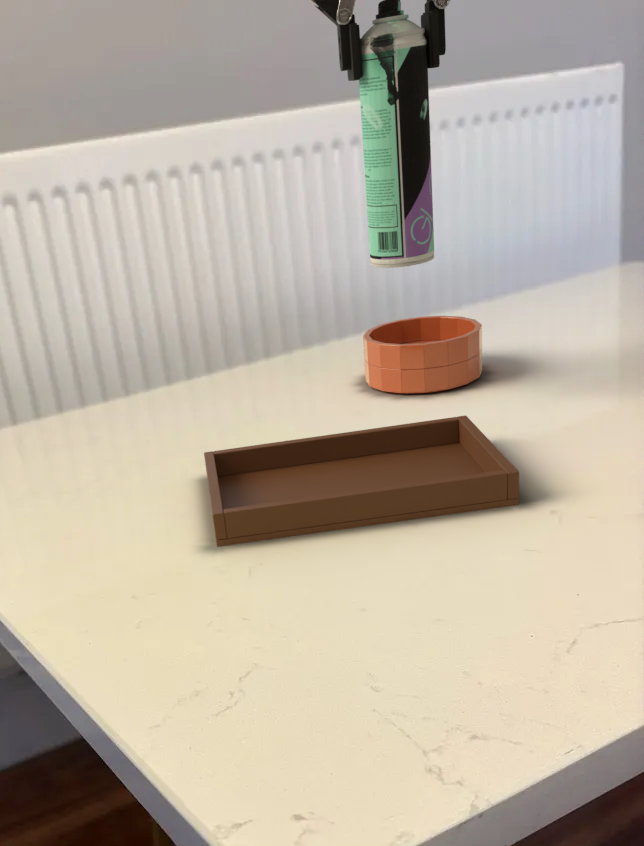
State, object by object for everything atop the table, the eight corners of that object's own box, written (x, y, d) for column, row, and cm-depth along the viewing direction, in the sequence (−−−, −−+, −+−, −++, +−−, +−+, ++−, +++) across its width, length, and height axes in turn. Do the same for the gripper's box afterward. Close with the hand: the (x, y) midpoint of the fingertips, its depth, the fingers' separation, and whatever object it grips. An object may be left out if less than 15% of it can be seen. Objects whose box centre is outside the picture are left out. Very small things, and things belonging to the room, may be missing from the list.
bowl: (464, 358, 108) (463, 310, 105) (495, 386, 98) (495, 334, 95) (357, 373, 108) (354, 326, 106) (378, 403, 98) (376, 351, 96)
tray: (466, 445, 85) (466, 415, 84) (519, 506, 73) (519, 471, 72) (207, 481, 85) (203, 452, 84) (217, 548, 73) (212, 514, 72)
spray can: (440, 261, 87) (431, -10, 78) (375, 271, 87) (358, 2, 78) (428, 251, 92) (418, -5, 83) (366, 260, 92) (350, 6, 83)
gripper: (483, -210, 78) (487, 58, 86) (258, -171, 79) (283, 90, 87) (512, -237, 71) (513, 55, 79) (266, -194, 72) (292, 91, 80)
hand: (392, 71), depth 83 cm, fingers closed on spray can, 5 cm apart
